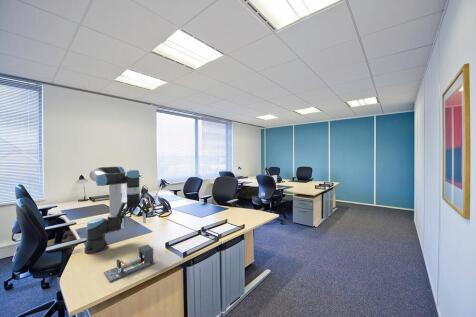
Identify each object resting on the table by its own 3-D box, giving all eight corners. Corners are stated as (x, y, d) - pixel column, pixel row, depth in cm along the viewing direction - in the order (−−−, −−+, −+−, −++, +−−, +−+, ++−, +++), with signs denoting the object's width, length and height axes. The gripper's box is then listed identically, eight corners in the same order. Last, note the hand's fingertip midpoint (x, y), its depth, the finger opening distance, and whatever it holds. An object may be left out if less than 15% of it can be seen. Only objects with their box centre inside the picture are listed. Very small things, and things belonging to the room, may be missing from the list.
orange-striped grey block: (115, 268, 125) (115, 258, 125) (137, 260, 135) (137, 251, 135) (120, 274, 119) (119, 263, 119) (142, 265, 129) (142, 255, 129)
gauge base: (103, 273, 123) (103, 257, 123) (146, 257, 142) (146, 243, 142) (109, 282, 114) (109, 265, 114) (154, 264, 133) (154, 249, 133)
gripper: (113, 197, 119) (114, 232, 119) (154, 191, 137) (155, 221, 138) (109, 195, 124) (110, 229, 124) (149, 190, 142) (150, 219, 143)
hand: (133, 225), depth 131 cm, fingers open, 13 cm apart
